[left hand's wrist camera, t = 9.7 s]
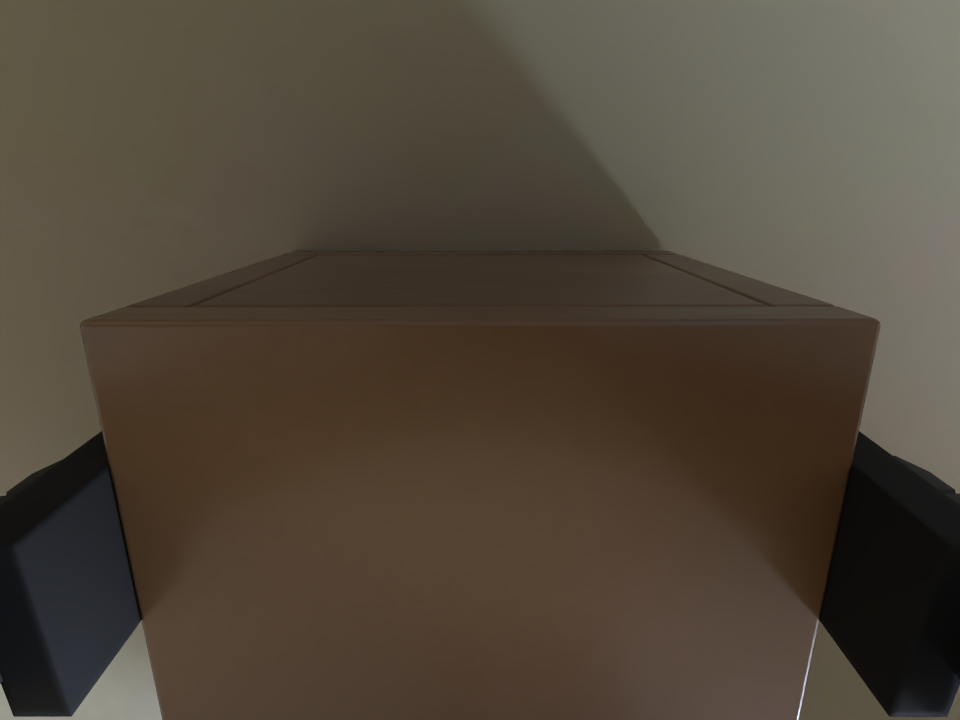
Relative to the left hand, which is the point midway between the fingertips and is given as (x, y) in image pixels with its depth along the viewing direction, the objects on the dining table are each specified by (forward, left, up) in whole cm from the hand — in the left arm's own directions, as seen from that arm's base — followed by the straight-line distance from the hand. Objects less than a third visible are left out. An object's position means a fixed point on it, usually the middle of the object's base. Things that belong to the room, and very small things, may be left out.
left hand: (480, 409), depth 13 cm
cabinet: (+4, -5, -4) cm, 7 cm away
